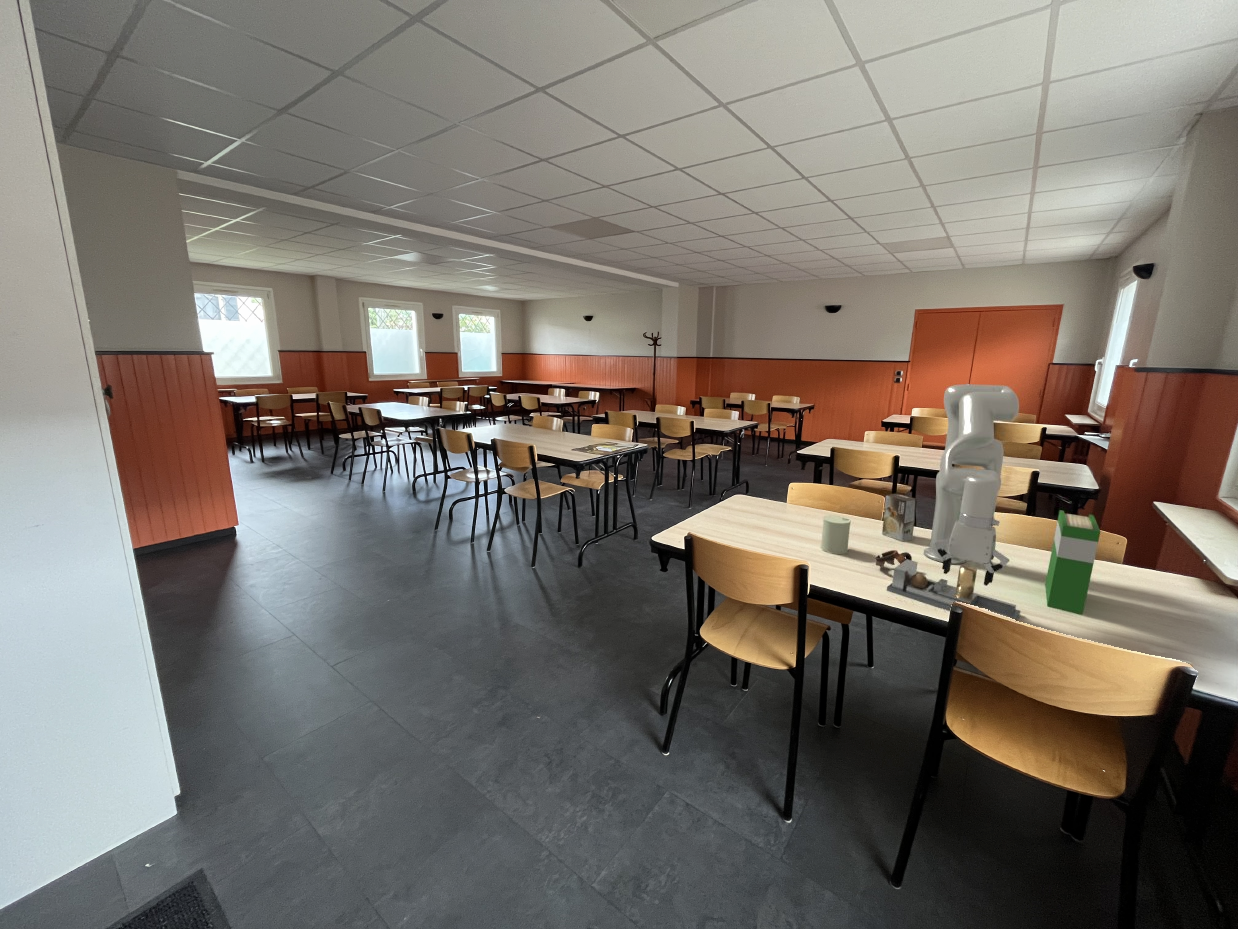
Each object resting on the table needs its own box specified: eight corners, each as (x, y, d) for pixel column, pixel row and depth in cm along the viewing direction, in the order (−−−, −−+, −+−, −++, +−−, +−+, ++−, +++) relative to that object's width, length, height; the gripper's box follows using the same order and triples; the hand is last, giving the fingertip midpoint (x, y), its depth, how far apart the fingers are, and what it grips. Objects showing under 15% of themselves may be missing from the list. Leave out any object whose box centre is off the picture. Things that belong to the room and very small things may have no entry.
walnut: (912, 583, 154) (914, 570, 153) (928, 588, 151) (930, 574, 150) (907, 587, 151) (909, 574, 150) (923, 592, 148) (925, 579, 147)
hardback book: (1045, 584, 156) (1059, 510, 151) (1077, 591, 152) (1093, 514, 147) (1047, 606, 143) (1063, 525, 137) (1082, 614, 138) (1100, 531, 133)
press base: (902, 578, 160) (904, 557, 158) (1019, 614, 138) (1024, 590, 136) (886, 590, 152) (889, 568, 151) (1008, 630, 130) (1013, 604, 129)
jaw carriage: (940, 589, 150) (945, 557, 148) (977, 600, 143) (982, 567, 141) (932, 597, 145) (936, 564, 143) (969, 608, 138) (975, 574, 136)
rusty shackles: (899, 583, 158) (887, 558, 159) (877, 583, 167) (865, 560, 168) (925, 567, 162) (913, 543, 163) (902, 569, 171) (890, 546, 172)
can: (852, 554, 179) (855, 522, 177) (826, 554, 180) (829, 521, 177) (841, 544, 188) (844, 514, 186) (816, 544, 189) (819, 513, 186)
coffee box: (913, 539, 194) (918, 499, 191) (902, 541, 191) (907, 501, 188) (891, 531, 202) (896, 493, 199) (880, 534, 200) (885, 494, 196)
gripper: (1018, 525, 134) (1007, 584, 138) (944, 509, 146) (936, 564, 150) (1011, 532, 129) (999, 593, 133) (935, 515, 141) (927, 572, 146)
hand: (966, 578), depth 142 cm, fingers open, 9 cm apart
